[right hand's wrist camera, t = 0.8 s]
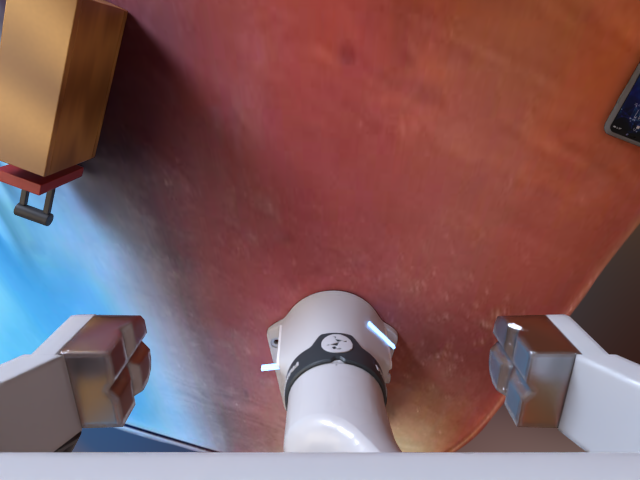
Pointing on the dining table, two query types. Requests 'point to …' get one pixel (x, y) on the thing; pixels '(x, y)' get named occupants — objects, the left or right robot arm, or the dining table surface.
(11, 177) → the drawer
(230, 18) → the dining table surface
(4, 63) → the cabinet
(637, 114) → the smartphone
